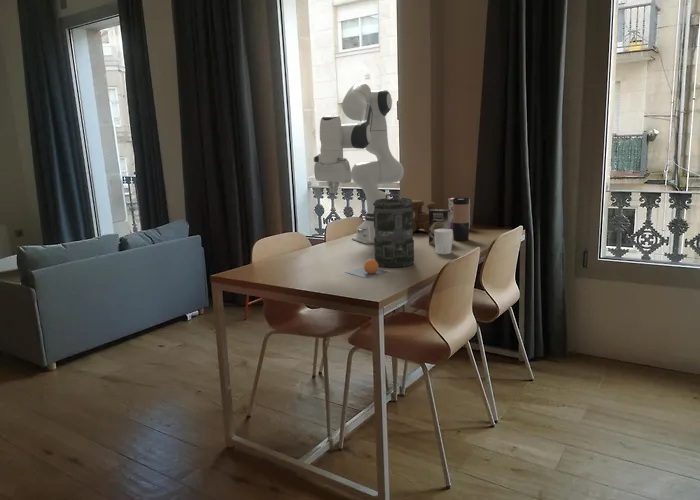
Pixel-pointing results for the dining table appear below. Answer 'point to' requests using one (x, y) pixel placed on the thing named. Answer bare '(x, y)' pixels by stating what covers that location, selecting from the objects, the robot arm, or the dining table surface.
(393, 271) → the dining table surface
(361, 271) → the mark
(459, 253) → the dining table surface
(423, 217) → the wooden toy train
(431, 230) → the coffee box
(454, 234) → the travel mug
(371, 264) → the ball
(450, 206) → the candy bar box
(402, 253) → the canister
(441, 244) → the white cup
